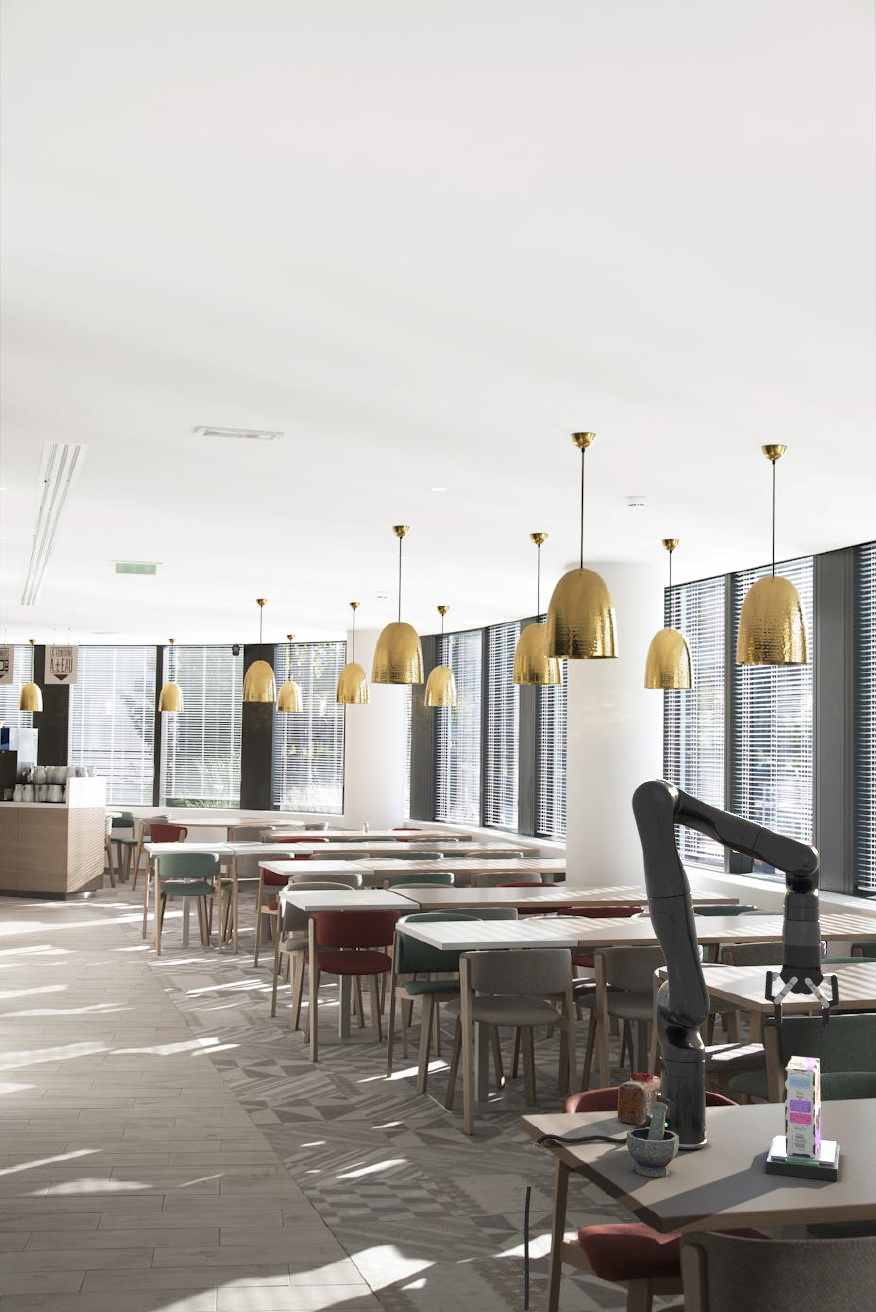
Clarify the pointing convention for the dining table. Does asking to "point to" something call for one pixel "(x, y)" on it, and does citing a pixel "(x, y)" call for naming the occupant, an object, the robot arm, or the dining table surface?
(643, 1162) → the mortar and pestle
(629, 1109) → the food item
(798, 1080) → the candy box
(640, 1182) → the dining table surface
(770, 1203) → the dining table surface
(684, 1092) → the robot arm
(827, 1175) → the scale
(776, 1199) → the dining table surface
